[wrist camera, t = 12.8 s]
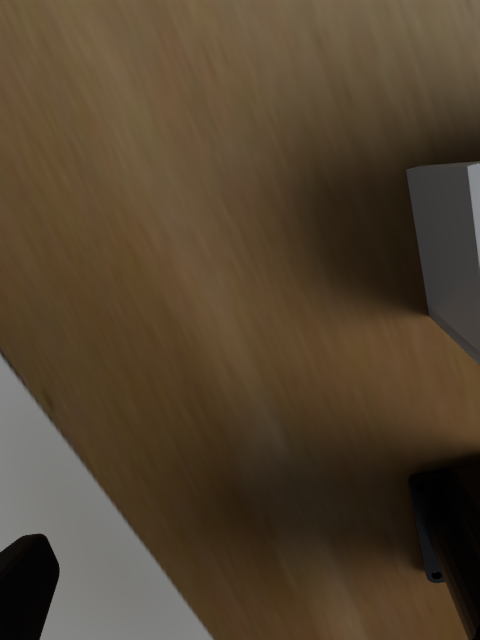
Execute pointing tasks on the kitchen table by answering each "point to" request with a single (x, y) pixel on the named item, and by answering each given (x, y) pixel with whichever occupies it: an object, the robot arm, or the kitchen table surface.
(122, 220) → the kitchen table surface
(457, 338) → the grey bracket
